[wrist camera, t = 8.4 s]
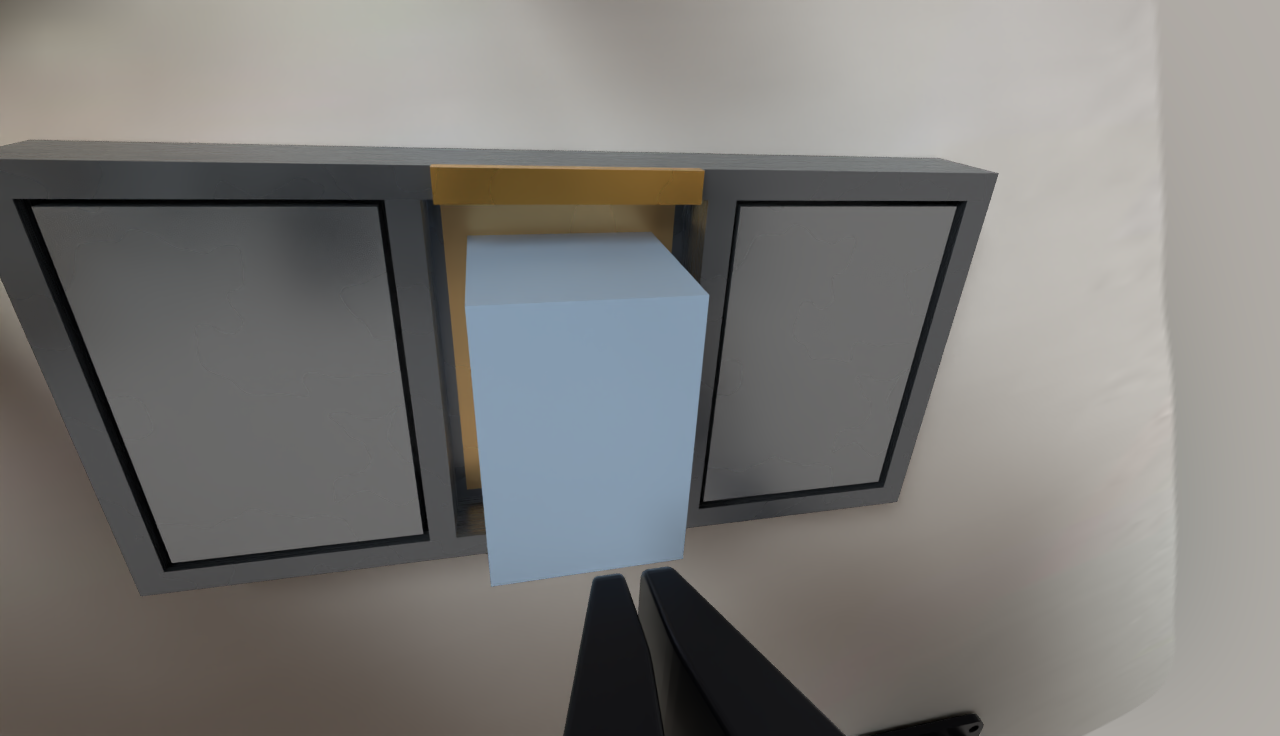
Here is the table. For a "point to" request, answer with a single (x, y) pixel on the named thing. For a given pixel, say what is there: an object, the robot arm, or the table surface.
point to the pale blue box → (583, 399)
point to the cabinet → (449, 331)
